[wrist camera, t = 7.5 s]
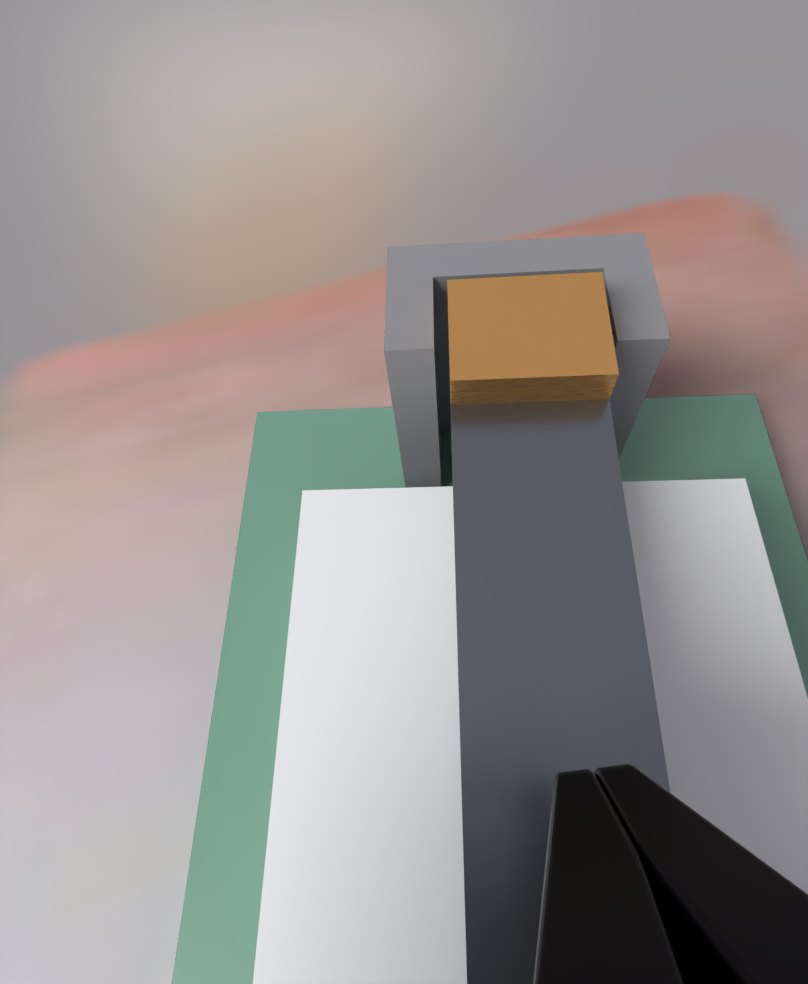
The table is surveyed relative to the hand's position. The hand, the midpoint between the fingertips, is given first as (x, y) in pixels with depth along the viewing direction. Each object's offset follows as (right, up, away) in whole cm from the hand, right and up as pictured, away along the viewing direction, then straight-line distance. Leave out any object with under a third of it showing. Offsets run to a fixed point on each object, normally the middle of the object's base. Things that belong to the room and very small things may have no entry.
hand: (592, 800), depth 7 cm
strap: (0, 0, +4) cm, 4 cm away
